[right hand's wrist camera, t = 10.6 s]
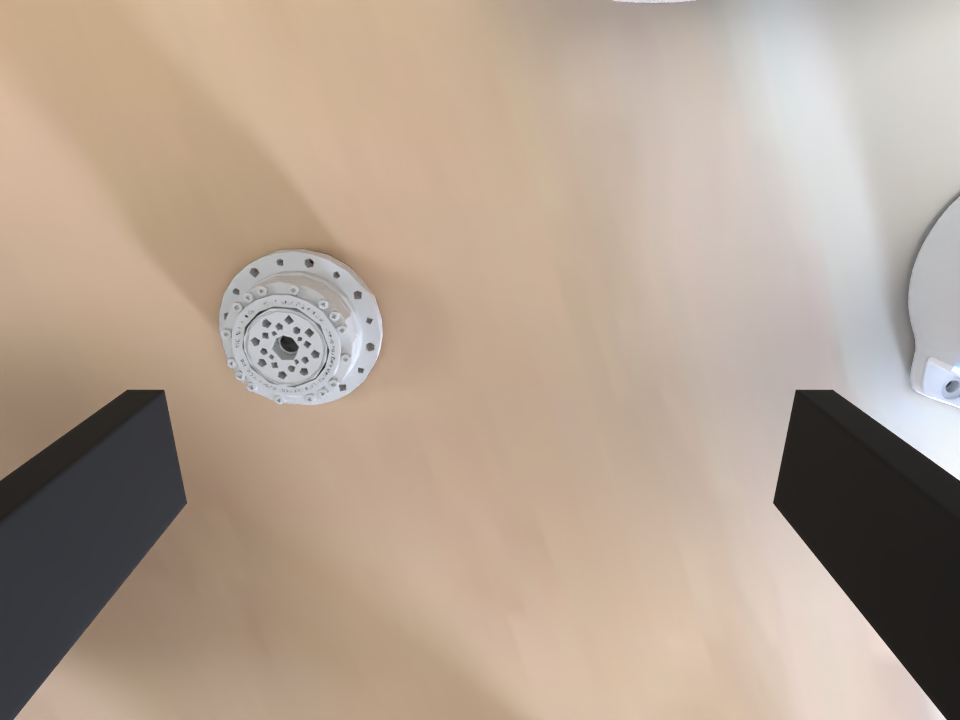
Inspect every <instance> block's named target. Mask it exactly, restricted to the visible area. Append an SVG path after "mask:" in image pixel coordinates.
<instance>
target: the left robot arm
mask: <svg viewBox="0 0 960 720" xmlns="http://www.w3.org/2000/svg"><path fill="white" fill-rule="evenodd" d="M613 1H620V2H636V3H668V2H684V1H694V0H613ZM908 310H909V317H910V322H911V326H912V330H913V334H914V338H915V348H916V349H915V353H914V357H913V362H912V367H911V373H910V383H911V387H912V388H913V390H914V391H916V392H917V393H919V394H922V395H924V396H927V397H929V398H932V399H935V400H938V401H940V402H943V403H946V404H949V405H952V406H955V407H958V408H960V196H959V197H958V198H957V199H956V200H955V201H954V202H953V203H952V204H951V205H950V206H949V207H948V208H947V209H946V211H945V212H944V213H943V214H942V215H941V217H940V218H939V219H938V221H937V222H936V223H935V225H934V226H933V228H932V229H931V231H930V232H929V234H928V236H927V237H926V239H925V241H924V243H923V245H922V247H921V249H920V251H919V253H918V255H917V258H916V261H915V263H914V267H913V270H912V274H911V278H910V283H909V291H908ZM950 381H951V383H950V385H949V386H948V387H946V385H947V384H948V383H949V382H950Z"/></svg>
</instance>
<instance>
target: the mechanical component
mask: <svg viewBox="0 0 960 720" xmlns="http://www.w3.org/2000/svg"><path fill="white" fill-rule="evenodd" d="M309 259H311V260H312V261H314V264H311V263H310V260H309ZM256 268H257V270H258V271H259V273H258V272H257V271H256ZM338 273H339V274H338ZM356 291H359V292H362V296H361V295H358V294H357V292H356ZM219 330H220V335H221V339H222V343H223V347H224V350H225V354H226V356H227V359H228V360H227V365H228V366H229V367H230V368H232V369H233V370H234V372H235V373H236V374H235V376H236V379H237V380H239V381H242V382H244V383H245V384H246V385H247V386H246V387H247V389H248V391H251V392H256V393H257V394H259V395H261V396H264V397H266V398H268V399H271V400H273V401H275V402H276V403H278V404H280V405H281V404H282V403H289V404H298V405H319V404H323V403H327V402H330V401H334V400H337V399H339V398H341V397H343V396H345V395H347V394H349V393H351V392H352V391H353V390H354V389H355V388H357V387H358V386H359V385H360V384H361V383H362V382H363V381H365V379H366V377H367V376H368V374H369V372H370V371H371V369H372V367H373V366H374V364H375V362H376V360H377V357H378V355H379V352H380V348H381V343H382V337H383V331H382V318H381V315H380V312H379V308H378V305H377V302H376V299H375V296H374V295H373V293H372V292H371V291H370V289H369V288H368V287H367V285H366V284H365V283H364V281H363V280H362V279H361V277H360V276H359V275H358V274H357V273H356V272H354V271H353V270H352V269H351V268H350V267H349V266H347V265H346V264H344V263H342V262H340V261H339V260H337V259H335V258H333V257H331V256H329V255H327V254H323V253H319V252H314V251H310V250H305V249H293V250H278V251H276V252H273V253H271V254H269V255H266V256H264V257H262V258H259V259H257V260H255V261H254V262H252V263H250V264H249V265H247V266H246V267H245V268H244V269H243V270H241V271H240V272H239V273H238V274H237V275H236V276H235V277H234V278H233V280H232V282H231V283H230V285H229V287H228V288H227V290H226V292H225V293H224V295H223V299H222V303H221V308H220V312H219ZM369 343H372V344H373V345H375V346H373V345H371V344H369ZM343 384H346V385H343Z"/></svg>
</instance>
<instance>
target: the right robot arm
mask: <svg viewBox="0 0 960 720" xmlns="http://www.w3.org/2000/svg"><path fill="white" fill-rule="evenodd" d="M773 503H774V505H775V506H776V507H777V508H778V510H779V511H780V512H781V513H782V515H783V516H784V517H785V518H786V520H787V521H788V522H789V523H790V525H791V526H792V527H793V528H794V530H795V531H796V532H797V533H798V535H799V536H800V537H801V538H802V540H803V541H804V542H805V543H806V545H807V546H808V547H809V548H810V550H811V551H812V552H813V553H814V555H815V556H816V557H817V558H818V560H819V561H820V562H821V563H822V565H823V566H824V567H825V568H826V570H827V571H828V572H829V573H830V575H831V576H832V577H833V578H834V580H835V581H836V582H837V583H838V585H839V586H840V587H841V588H842V590H843V591H844V592H845V593H846V595H847V596H848V597H849V598H850V600H851V601H852V602H853V603H854V605H855V606H856V607H857V608H858V610H859V611H860V612H861V613H862V615H863V616H864V617H865V618H866V620H867V621H868V622H869V623H870V625H871V626H872V627H873V628H874V630H875V631H876V632H877V633H878V635H879V636H880V637H881V638H882V640H883V641H884V642H885V643H886V645H887V646H888V647H889V648H890V650H891V651H892V652H893V653H894V655H895V656H896V657H897V658H898V660H899V661H900V662H901V663H902V664H903V666H904V667H905V668H906V669H907V671H908V672H909V673H910V674H911V676H912V677H913V678H914V679H915V681H916V682H917V683H918V684H919V686H920V687H921V688H922V689H923V691H924V692H925V693H926V694H927V696H928V697H929V698H930V699H931V701H932V702H933V703H934V704H935V706H936V707H937V708H938V709H939V711H940V712H941V713H942V714H943V716H944V717H945V718H946V719H947V720H960V481H959V480H958V479H956V478H955V477H954V476H952V475H951V474H949V473H948V472H947V471H945V470H944V469H942V468H941V467H940V466H938V465H937V464H935V463H934V462H933V461H931V460H930V459H928V458H927V457H926V456H924V455H923V454H921V453H920V452H919V451H917V450H916V449H915V448H913V447H912V446H910V445H909V444H908V443H906V442H905V441H903V440H902V439H901V438H899V437H898V436H896V435H895V434H894V433H892V432H891V431H889V430H888V429H887V428H885V427H884V426H882V425H881V424H880V423H878V422H877V421H875V420H874V419H873V418H871V417H870V416H868V415H867V414H866V413H864V412H863V411H861V410H860V409H859V408H857V407H856V406H854V405H853V404H852V403H850V402H849V401H848V400H846V399H845V398H843V397H842V396H841V395H839V394H838V393H836V392H835V391H834V390H796V392H795V397H794V402H793V407H792V412H791V417H790V422H789V427H788V432H787V437H786V442H785V447H784V452H783V457H782V462H781V467H780V472H779V477H778V482H777V486H776V491H775V496H774V501H773ZM186 504H187V501H186V496H185V491H184V486H183V481H182V476H181V471H180V466H179V461H178V456H177V451H176V446H175V441H174V436H173V431H172V426H171V422H170V417H169V412H168V407H167V402H166V397H165V392H164V390H126V391H125V392H124V393H122V394H121V395H119V396H118V397H117V398H115V399H114V400H113V401H111V402H110V403H108V404H107V405H106V406H104V407H103V408H101V409H100V410H99V411H97V412H96V413H94V414H93V415H92V416H90V417H89V418H87V419H86V420H85V421H83V422H82V423H80V424H79V425H78V426H76V427H75V428H73V429H72V430H71V431H69V432H68V433H66V434H65V435H64V436H62V437H61V438H59V439H58V440H57V441H55V442H54V443H52V444H51V445H50V446H48V447H47V448H46V449H44V450H43V451H41V452H40V453H39V454H37V455H36V456H34V457H33V458H32V459H30V460H29V461H27V462H26V463H25V464H23V465H22V466H20V467H19V468H18V469H16V470H15V471H13V472H12V473H11V474H9V475H8V476H6V477H5V478H4V479H2V480H1V481H0V720H13V719H14V718H15V717H16V716H17V714H18V713H19V712H20V711H21V709H22V708H23V707H24V706H25V704H26V703H27V702H28V701H29V699H30V698H31V697H32V696H33V694H34V693H35V692H36V691H37V689H38V688H39V687H40V686H41V685H42V683H43V682H44V681H45V680H46V678H47V677H48V676H49V675H50V673H51V672H52V671H53V670H54V668H55V667H56V666H57V665H58V663H59V662H60V661H61V660H62V658H63V657H64V656H65V655H66V653H67V652H68V651H69V650H70V648H71V647H72V646H73V645H74V643H75V642H76V641H77V640H78V638H79V637H80V636H81V635H82V633H83V632H84V631H85V630H86V628H87V627H88V626H89V625H90V623H91V622H92V621H93V620H94V618H95V617H96V616H97V615H98V613H99V612H100V611H101V610H102V608H103V607H104V606H105V605H106V603H107V602H108V601H109V600H110V598H111V597H112V596H113V595H114V593H115V592H116V591H117V590H118V588H119V587H120V586H121V585H122V583H123V582H124V581H125V580H126V578H127V577H128V576H129V575H130V573H131V572H132V571H133V570H134V568H135V567H136V566H137V565H138V563H139V562H140V561H141V560H142V558H143V557H144V556H145V555H146V553H147V552H148V551H149V550H150V548H151V547H152V546H153V545H154V543H155V542H156V541H157V540H158V538H159V537H160V536H161V535H162V533H163V532H164V531H165V530H166V528H167V527H168V526H169V525H170V524H171V522H172V521H173V520H174V519H175V517H176V516H177V515H178V514H179V512H180V511H181V510H182V509H183V507H184V506H185V505H186Z"/></svg>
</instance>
